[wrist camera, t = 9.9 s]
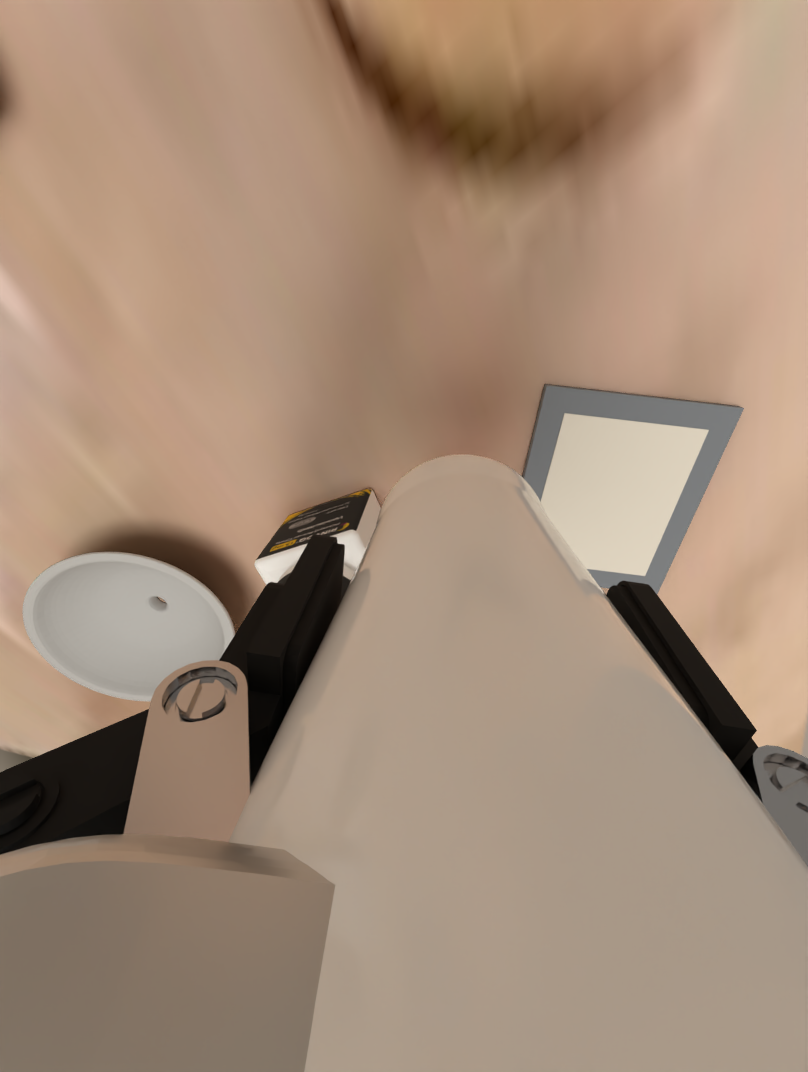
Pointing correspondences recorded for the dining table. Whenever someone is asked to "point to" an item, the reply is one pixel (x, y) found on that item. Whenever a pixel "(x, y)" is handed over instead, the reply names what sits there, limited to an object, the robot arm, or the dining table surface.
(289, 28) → the dining table surface
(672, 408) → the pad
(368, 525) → the medicine bottle
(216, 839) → the robot arm
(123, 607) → the dish
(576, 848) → the drinking glass
